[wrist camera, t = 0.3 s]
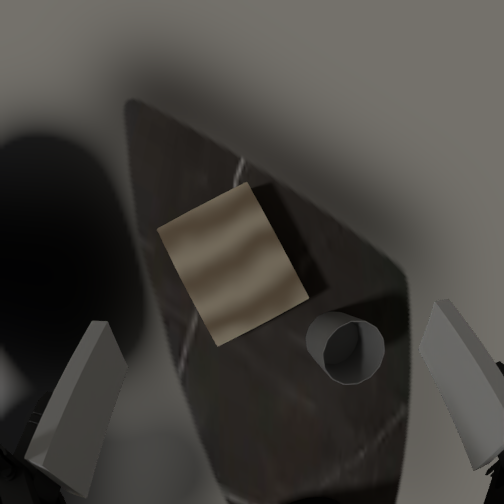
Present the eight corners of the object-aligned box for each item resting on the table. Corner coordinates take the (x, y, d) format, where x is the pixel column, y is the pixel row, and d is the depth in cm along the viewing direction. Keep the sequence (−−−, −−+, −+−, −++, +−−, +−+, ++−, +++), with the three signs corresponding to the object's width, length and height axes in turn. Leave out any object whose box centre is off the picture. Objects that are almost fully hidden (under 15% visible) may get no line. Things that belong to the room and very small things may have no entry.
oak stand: (303, 296, 45) (309, 298, 41) (219, 340, 44) (217, 346, 40) (246, 189, 46) (246, 181, 42) (163, 232, 45) (156, 229, 41)
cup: (331, 300, 45) (355, 306, 35) (367, 333, 45) (396, 346, 35) (294, 342, 44) (308, 359, 34) (331, 373, 44) (352, 396, 34)
